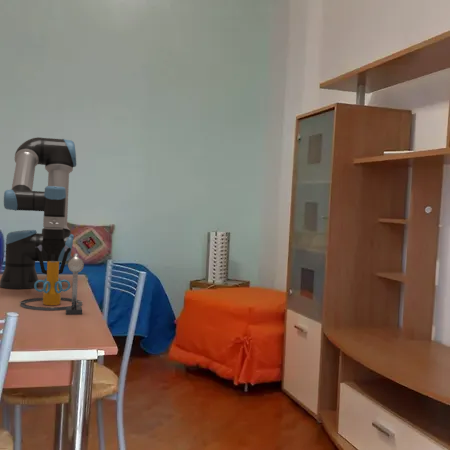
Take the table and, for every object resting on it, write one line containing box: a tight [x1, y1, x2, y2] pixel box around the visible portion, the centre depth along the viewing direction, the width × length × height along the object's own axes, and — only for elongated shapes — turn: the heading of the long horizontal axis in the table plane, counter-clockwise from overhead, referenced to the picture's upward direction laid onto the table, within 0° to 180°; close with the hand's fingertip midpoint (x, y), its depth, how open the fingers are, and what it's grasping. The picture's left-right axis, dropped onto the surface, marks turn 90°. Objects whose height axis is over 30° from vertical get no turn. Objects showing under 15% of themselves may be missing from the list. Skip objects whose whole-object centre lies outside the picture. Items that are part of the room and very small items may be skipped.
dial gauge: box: [65, 253, 85, 316], centre depth 188 cm, size 8×5×20 cm, turn 18°
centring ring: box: [18, 296, 84, 311], centre depth 199 cm, size 21×21×1 cm
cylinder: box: [33, 261, 71, 306], centre depth 199 cm, size 12×10×15 cm
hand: (51, 292), depth 208 cm, fingers closed
